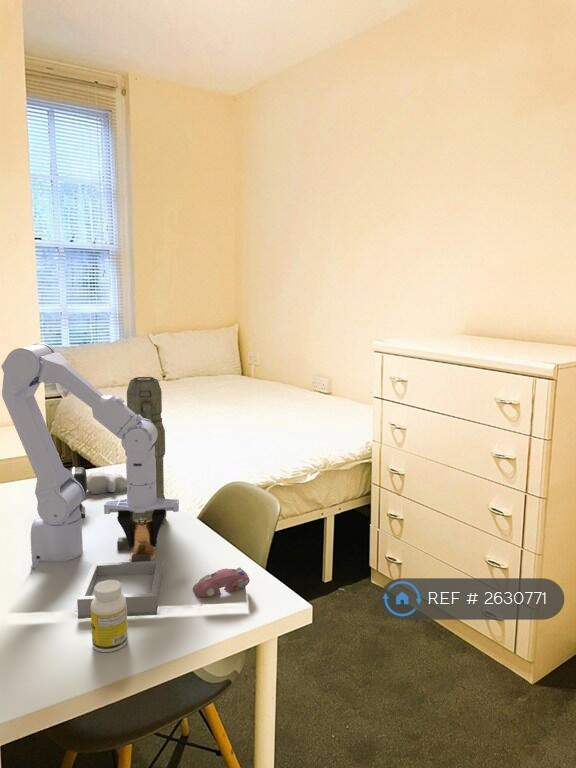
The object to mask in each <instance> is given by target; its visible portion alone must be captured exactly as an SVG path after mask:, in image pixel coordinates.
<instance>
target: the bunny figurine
mask: <svg viewBox="0 0 576 768" xmlns="http://www.w3.org/2000/svg"><path fill="white" fill-rule="evenodd" d="M125 490H127V477H125V476H123V475H122V474H121V473H113V474H111V473H105V472H103V471H92V472H90V473H89V474H88V476H87V492H89V493H91V494H92V495H103V494H106V493H109V492H110V493H115V492H116V493H118V492H119V493H120V492H123V491H125Z"/></svg>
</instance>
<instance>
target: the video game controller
mask: <svg viewBox="0 0 576 768" xmlns="http://www.w3.org/2000/svg"><path fill="white" fill-rule="evenodd" d="M249 584H250V577H249V574H248V573H247V572H246V571H245V570H244V569H242V568H241V567H237V568H235V569H234V568H221V569H219V570H217V571H214V572H213V573H211V574H206V575H205V576H203V577H202V578H200V579H199V581H198V582H196V583H195V584H194V585H193V587H192V592H193V594H194V595H195V596H196V597H198V598H209V597H213V596H217V595H220V594H222V593H221V590H220V589H221V588H222V589H224V591H225V592H226V593H229V592H234V591H238V590H242V589H244V588H246V587H247V585H249Z"/></svg>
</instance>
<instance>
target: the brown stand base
mask: <svg viewBox="0 0 576 768" xmlns="http://www.w3.org/2000/svg"><path fill="white" fill-rule="evenodd" d="M116 544H117V545H116V549H117V551H124V550H125V551H127V550H129V551H130V552H131V553H130V555H129V559H128V562H143V561H156V560H155V559H156V554H157V547H156V548H155V547H153V555H152V556H151V554H133V547H131V548H129V545H128V540H127V537H126V535H125V536H122V537H118V539H117V543H116Z"/></svg>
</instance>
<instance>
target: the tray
mask: <svg viewBox="0 0 576 768" xmlns="http://www.w3.org/2000/svg"><path fill="white" fill-rule="evenodd" d="M163 568H164V567H163V560H151V561H143V562H132V561H122V562H120V561H119V562H117V561H116V562H97V563H95V562H94V563H93V562H92V564H91V567H90V569H89V571H88V574H87V576H86V578H85V580H84V583H83V584H82V587H81V590H80V592H79V594H78V597H77V603H76V604H77V617H78V618H77V619H91V602H92V600H93V599H94V598H95V595H91V593H92V592H93V590H94V589H93V588H94V587H95V585H96V581H97V578H98V577H114V576H116V577H117V576H139V575H142V576H143V575H153V580H152V586H151V590H150V592H148V593H147V592H145V593H127V594H126V593H124V594H123V595H124V596H125V598H126V604H127V617H133V616H134V617H136V616H138V617H139V616H154V615H155V616H157V613H158V607H159V606H158V599H159V594H160V588H161V582H162V577H163V570H164V569H163Z"/></svg>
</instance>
